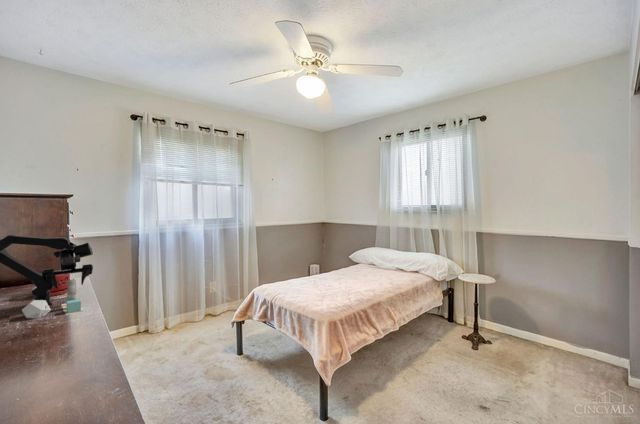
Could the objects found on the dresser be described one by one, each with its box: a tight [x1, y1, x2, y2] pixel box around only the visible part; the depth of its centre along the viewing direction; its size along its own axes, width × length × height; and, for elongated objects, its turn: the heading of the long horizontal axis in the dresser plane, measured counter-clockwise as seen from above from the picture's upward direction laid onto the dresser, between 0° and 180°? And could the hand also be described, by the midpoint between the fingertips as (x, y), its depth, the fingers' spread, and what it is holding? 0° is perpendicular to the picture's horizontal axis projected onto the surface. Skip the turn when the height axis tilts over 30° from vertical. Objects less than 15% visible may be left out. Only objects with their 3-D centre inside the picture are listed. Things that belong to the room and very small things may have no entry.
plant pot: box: [50, 274, 71, 297], centre depth 163 cm, size 13×13×12 cm
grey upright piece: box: [60, 278, 85, 316], centre depth 137 cm, size 20×6×14 cm, turn 47°
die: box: [21, 299, 52, 319], centre depth 127 cm, size 8×9×10 cm
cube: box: [66, 298, 82, 313], centre depth 133 cm, size 4×4×4 cm
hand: (69, 286), depth 140 cm, fingers open, 9 cm apart
